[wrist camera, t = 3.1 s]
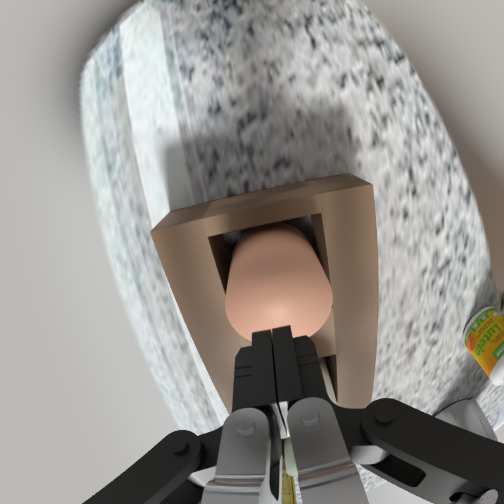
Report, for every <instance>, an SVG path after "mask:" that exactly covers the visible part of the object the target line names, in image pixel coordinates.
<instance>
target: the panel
mask: <svg viewBox="0 0 504 504" xmlns="http://www.w3.org/2000/svg"><path fill="white" fill-rule="evenodd" d="M308 215H311V220H312V226H313V232H314V239H315V245H316V252H317V258H318V260H319V262H320V264H321V266H322V268H323V270H324V272H325V274H326V277H327V279H328V281H329V283H330V286H331V289H332V294H333V303H332V308H331V312H330V314H329V317H328V318H327V320H326V322H325V323H324V324H323V326H322V327H321V328H320V329H319V330H318V331H317V332H316V333H314V334H313V335H312V336H310V337H309V338H310V339H311V340H312V341H313V342H314V344H315V347H316V351H317V355H318V358H321V357H326V356H328V360H329V369H328V372H329V376H330V379H331V383H332V387H333V391H334V395H335V399H336V402H337V405H338V406H341V407H344V408H366V407H367V406H368V405H369V404H370V403H371V398H372V390H373V381H374V371H375V360H376V347H377V329H378V246H377V228H376V215H375V203H374V193H373V184H371V183H369V182H366V181H364V180H362V179H360V178H358V177H356V176H354V175H351V174H349V173H348V174H342V175H336V176H330V177H325V178H319V179H314V180H308V181H303V182H298V183H293V184H288V185H283V186H278V187H273V188H268V189H263V190H259V191H254V192H249V193H245V194H240V195H236V196H232V197H227V198H223V199H219V200H215V201H210V202H206V203H202V204H198V205H194V206H190V207H186V208H183V209H179V210H175V211H171V212H169V213H168V214H167V215H166V216H165V217H164V218H163V219H162V220H161V221H160V222H159V223H158V224H157V225H156V226H155V227H154V228H153V229H152V230H151V231H150V233H151V236H152V238H153V241H154V244H155V247H156V250H157V252H158V255H159V258H160V261H161V263H162V266H163V269H164V271H165V274H166V277H167V279H168V282H169V284H170V287H171V289H172V292H173V294H174V297H175V299H176V302H177V304H178V307H179V309H180V311H181V314H182V316H183V319H184V321H185V323H186V326H187V328H188V330H189V332H190V335H191V337H192V339H193V341H194V344H195V346H196V348H197V350H198V352H199V355H200V357H201V359H202V361H203V363H204V365H205V367H206V369H207V371H208V373H209V376H210V378H211V380H212V382H213V384H214V386H215V388H216V390H217V392H218V394H219V396H220V398H221V399H222V401H223V403H224V405H225V407H226V409H227V411H228V413H229V415H230V414H231V412H232V400H233V382H234V370H235V369H234V365H235V357H236V355H237V353H238V352H239V350H240V348H241V347H247V346H252V341H249V340H248V339H246V338H244V337H243V336H241V335H240V334H239V333H238V332H237V331H236V330H235V329H234V328H233V327H232V325H231V323H230V322H229V320H228V317H227V315H226V311H225V297H226V291H227V284H228V278H229V272H230V266H231V265H230V262H229V258H228V255H227V251H226V248H225V244H224V240H223V237H222V233H227V232H231V231H236V230H240V229H245V228H250V227H254V226H259V225H264V224H269V223H273V222H278V221H283V220H288V219H293V218H298V217H303V216H308ZM281 447H282V463H284V462H285V452H284V439H281Z"/></svg>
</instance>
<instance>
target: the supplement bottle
mask: <svg viewBox="0 0 504 504" xmlns="http://www.w3.org/2000/svg"><path fill="white" fill-rule="evenodd" d="M463 342H464V344H465V346H466V347H467V348H468V350H469V351H470V352H471V354H472V355H473V357H474V358H475V359H476V361H477V362H478V363H479V365H480V366H481V368H482V369H483V370H484V372H485V373H486V375H487V376H488V378H489V379H490V381H491V382H492V383H493V384H494V385H496V386H500V385H503V384H504V316H503V315H502V314H501V313H500V312H499V311H498V310H497V309H496V308H494V307H492V306H488V307H485V308H483V309H481V310H480V311H478V312H477V313H476V314H475V315H474V316H473V317H472V318H471V320H470V321H469V323H468V324H467V326H466V328H465V330H464V333H463Z"/></svg>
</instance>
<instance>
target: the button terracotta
mask: <svg viewBox="0 0 504 504" xmlns="http://www.w3.org/2000/svg"><path fill="white" fill-rule="evenodd" d="M332 303H333V294H332V289H331V286H330V283H329V281H328V279H327V277H326V274H325V272H324V270H323V268H322V266H321V264H320V262H319V260H318V258H317V256H316V254H315V252H314V249H313V247H312V245H311V243H310V242H309V240H308V238H307V237H306V236H305V235H304V234H303V233H302V232H301V231H300V230H298V229H297V228H295V227H293V226H291V225H289V224H285V223H280V222H273V223H269V224H264V225H259V226H255V227H253V228H251V229H249V230H248V231H247V232H245V233H244V234H243V235H242V236H241V237H240V239H239V240H238V241H237V243H236V245H235V247H234V250H233V254H232V260H231V266H230V272H229V278H228V284H227V291H226V297H225V311H226V315H227V317H228V320H229V322H230V323H231V325H232V327H233V328H234V329H235V330H236V331H237V332H238V333H239V334H240V335H241V336H243V337H244V338H246V339H248V340H249V341H252V332H257V331H262V330H267V329H271V331H272V328H277V327H282V326H287V325H290V326H291V330H292V335H293V338H294V337H299V336H303V335H307V336H308V337H310V336H312V335H313V334H314V333H316V332H317V331H318V330H319V329H320V328H321V327H322V326H323V324H324V323H325V322H326V320H327V318H328V317H329V314H330V312H331V308H332Z"/></svg>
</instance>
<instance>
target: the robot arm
mask: <svg viewBox="0 0 504 504" xmlns="http://www.w3.org/2000/svg"><path fill="white" fill-rule="evenodd" d="M234 369H235V370H234V382H233V400H232V412H231V414H230V415H229V416H228V417H227V419H226V420H225V422H224V425H223V426H221V427H220V428H218V429H216V430H214V431H211V432H208V433H205V434H202V435H199V436H197V435H196V434H194V433H193V432H191V431H187V430H178V431H174V432H172V433H170V434H168V435H167V436H166V437H165V438H164V439H162V440H161V441H160V442H159V443H158V444H157V445H155V446H154V447H153V448H152V449H151V450H150V451H148V452H147V453H146V454H145V455H144V456H143V457H141V458H140V459H139V460H138V461H137V462H135V463H134V464H133V465H132V466H131V467H129V468H128V469H127V470H126V471H125V472H123V473H122V474H121V475H120V476H118V477H117V478H116V479H114V480H113V481H112V482H110V483H109V484H108V485H107V486H105V487H104V488H103V489H101V490H100V491H99V492H97V493H96V494H95V495H93V496H92V497H91V498H89V499H88V500H86V501H85V502H84V503H82V504H282V500H281V497H282V447H281V439H284V438H288V436H287V431H288V434H289V437H290V438H291V443H292V448H293V453H294V458H295V462H296V467H297V472H298V482H299V487H300V492H301V497H302V502H303V504H369V502H368V499H367V496H366V493H365V490H364V487H363V484H362V481H361V478H360V475H359V472H358V470H357V468H356V465H355V464H360V465H361V466H362V467H364V468H366V469H367V470H369V471H371V472H372V473H374V474H376V475H378V476H380V477H381V478H383V479H385V480H387V481H389V482H391V483H392V484H395V485H396V486H398V487H400V488H402V489H404V490H406V491H408V492H410V493H412V494H414V495H416V496H419V497H421V498H423V499H425V500H427V501H429V502H431V503H434V504H504V444H503V443H500V442H497V441H498V440H497V437H496V435H495V433H494V431H493V429H492V427H491V425H490V424H489V422H488V420H487V418H486V416H485V415H484V413H483V411H482V409H481V408H480V406H479V404H478V403H477V401H476V399H475V398H472V399H470V400H462V401H459V402H457V403H454V404H452V405H451V406H449V407H447V408H446V409H444V410H443V411H441V412H440V413H439V414H437V415H436V416H435V417H433V416H431V415H429V414H427V413H424V412H422V411H420V410H417V409H415V408H413V407H411V406H409V405H406V404H404V403H402V402H400V401H398V400H395V399H391V398H382V399H378V400H375V401H373V402H371V403H370V404H369V405H368V406H367V407H366V408H344V407H341V406H338V405H336V404H335V403H334V402H332V401H331V399H330V398H329V396H328V394H327V390H326V386H325V382H324V378H323V374H322V370H321V366H320V363H319V359H318V355H317V351H316V347H315V344H314V342H313V341H312V340H311V339H310V338H309V337H308V336H307V335H303V336H299V337H294V338H293V335H292V330H291V326H290V325H287V326H282V327H277V328H272V331H271V329H267V330H262V331H257V332H252V346H247V347H241V348H240V350H239V352H238V353H237V355H236V357H235V365H234Z"/></svg>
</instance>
